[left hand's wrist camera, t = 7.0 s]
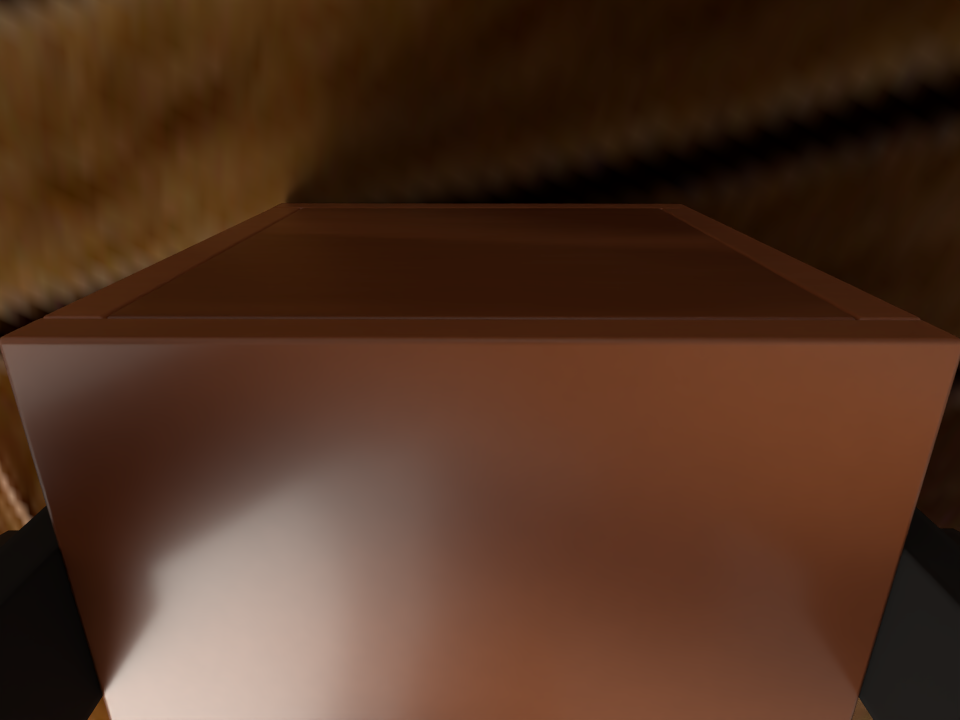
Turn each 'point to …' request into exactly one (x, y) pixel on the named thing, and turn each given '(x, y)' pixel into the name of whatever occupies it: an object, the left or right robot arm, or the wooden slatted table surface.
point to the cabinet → (480, 467)
